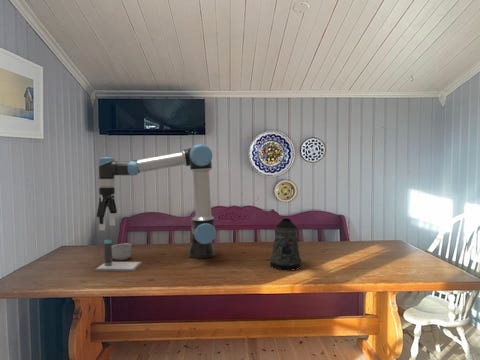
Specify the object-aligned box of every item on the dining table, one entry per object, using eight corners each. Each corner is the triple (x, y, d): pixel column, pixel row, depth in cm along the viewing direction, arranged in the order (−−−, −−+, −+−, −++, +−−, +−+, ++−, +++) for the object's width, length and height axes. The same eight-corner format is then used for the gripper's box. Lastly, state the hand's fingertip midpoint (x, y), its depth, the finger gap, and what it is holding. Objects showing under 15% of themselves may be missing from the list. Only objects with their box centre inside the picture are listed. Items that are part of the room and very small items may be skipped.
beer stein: (274, 271, 176) (274, 222, 175) (265, 261, 195) (265, 216, 194) (305, 270, 179) (306, 221, 178) (293, 260, 198) (294, 216, 197)
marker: (113, 263, 185) (112, 239, 184) (110, 266, 181) (109, 241, 181) (106, 263, 185) (105, 239, 184) (103, 266, 181) (102, 241, 181)
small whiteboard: (142, 263, 190) (142, 261, 190) (134, 271, 176) (133, 269, 176) (105, 263, 190) (105, 261, 190) (94, 270, 176) (94, 268, 176)
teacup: (125, 262, 192) (125, 247, 192) (107, 261, 195) (107, 246, 194) (137, 255, 206) (137, 242, 206) (120, 254, 208) (120, 241, 208)
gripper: (109, 185, 194) (109, 223, 195) (89, 188, 169) (89, 232, 170) (122, 185, 194) (123, 223, 195) (104, 188, 169) (105, 232, 170)
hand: (107, 227), depth 183 cm, fingers open, 13 cm apart
